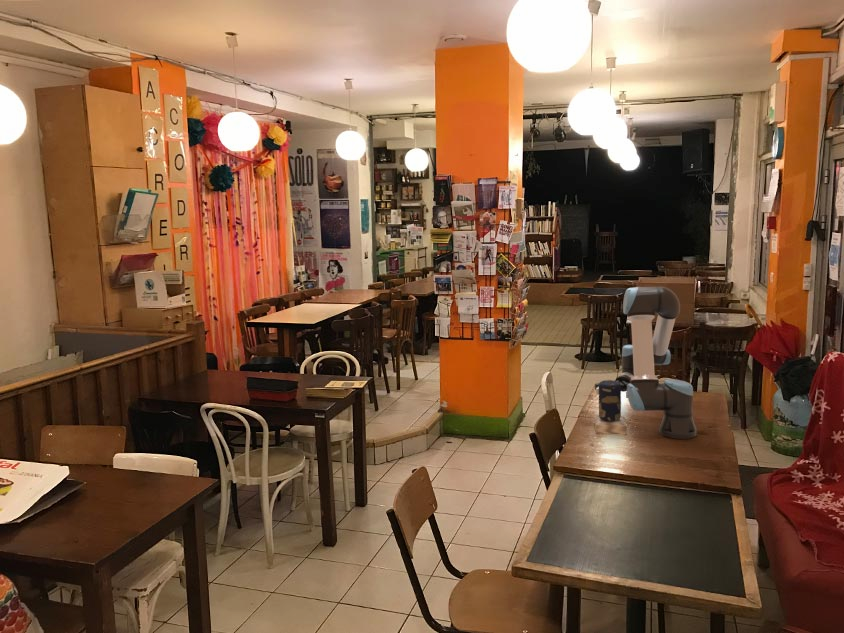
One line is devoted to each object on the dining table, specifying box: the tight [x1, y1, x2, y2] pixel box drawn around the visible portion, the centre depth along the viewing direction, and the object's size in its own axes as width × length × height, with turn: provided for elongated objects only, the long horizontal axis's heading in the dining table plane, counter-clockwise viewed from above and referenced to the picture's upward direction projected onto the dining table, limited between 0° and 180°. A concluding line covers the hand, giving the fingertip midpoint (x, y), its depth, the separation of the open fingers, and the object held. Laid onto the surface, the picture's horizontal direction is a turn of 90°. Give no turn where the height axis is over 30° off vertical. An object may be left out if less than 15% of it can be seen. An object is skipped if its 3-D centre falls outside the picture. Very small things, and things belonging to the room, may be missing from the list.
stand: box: [594, 415, 628, 435], centre depth 305 cm, size 13×13×5 cm
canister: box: [598, 379, 622, 421], centre depth 304 cm, size 10×10×18 cm
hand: (611, 393), depth 306 cm, fingers open, 13 cm apart
